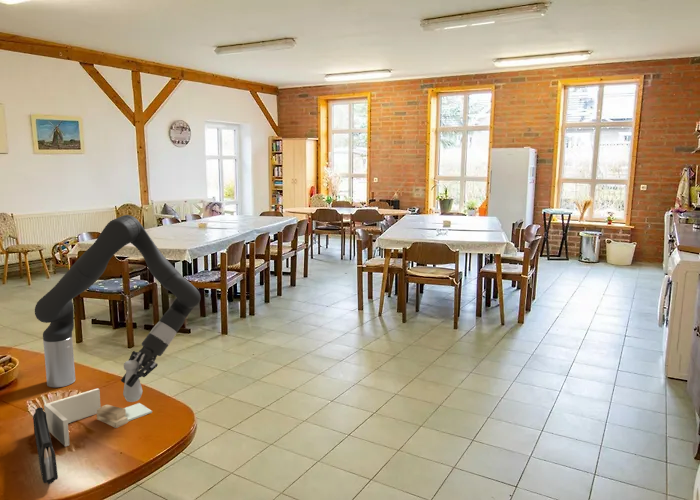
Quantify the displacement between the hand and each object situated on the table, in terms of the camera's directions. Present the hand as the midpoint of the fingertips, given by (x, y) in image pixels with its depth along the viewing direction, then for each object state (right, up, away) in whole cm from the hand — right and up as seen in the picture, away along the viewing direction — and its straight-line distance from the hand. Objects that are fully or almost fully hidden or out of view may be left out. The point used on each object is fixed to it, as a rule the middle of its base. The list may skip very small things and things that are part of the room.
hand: (126, 383), depth 167 cm
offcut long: (-3, -12, -2) cm, 12 cm away
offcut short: (-4, -9, -2) cm, 10 cm away
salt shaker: (+1, -6, +3) cm, 6 cm away
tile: (+1, -10, +3) cm, 11 cm away
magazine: (-11, -15, -25) cm, 31 cm away
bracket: (-10, -12, -7) cm, 17 cm away
